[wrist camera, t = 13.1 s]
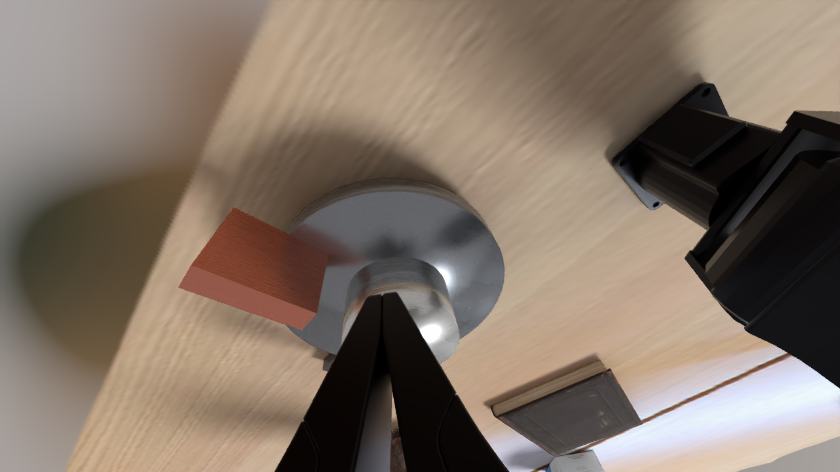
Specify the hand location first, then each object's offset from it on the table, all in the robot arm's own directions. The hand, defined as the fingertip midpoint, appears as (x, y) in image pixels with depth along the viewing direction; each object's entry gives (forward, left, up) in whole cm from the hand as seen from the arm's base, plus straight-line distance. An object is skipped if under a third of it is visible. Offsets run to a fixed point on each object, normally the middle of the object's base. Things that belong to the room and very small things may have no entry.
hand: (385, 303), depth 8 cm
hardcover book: (-46, +16, -13) cm, 50 cm away
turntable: (-6, +7, -11) cm, 14 cm away
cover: (-6, +7, -9) cm, 13 cm away
